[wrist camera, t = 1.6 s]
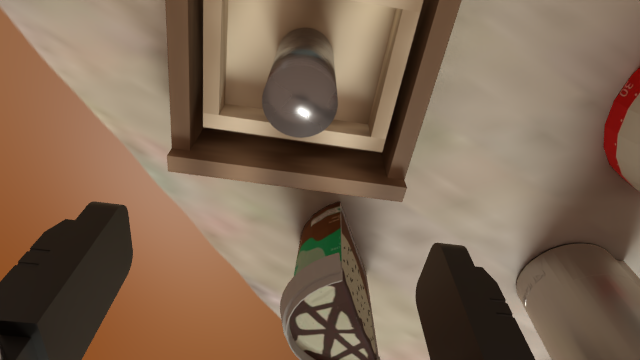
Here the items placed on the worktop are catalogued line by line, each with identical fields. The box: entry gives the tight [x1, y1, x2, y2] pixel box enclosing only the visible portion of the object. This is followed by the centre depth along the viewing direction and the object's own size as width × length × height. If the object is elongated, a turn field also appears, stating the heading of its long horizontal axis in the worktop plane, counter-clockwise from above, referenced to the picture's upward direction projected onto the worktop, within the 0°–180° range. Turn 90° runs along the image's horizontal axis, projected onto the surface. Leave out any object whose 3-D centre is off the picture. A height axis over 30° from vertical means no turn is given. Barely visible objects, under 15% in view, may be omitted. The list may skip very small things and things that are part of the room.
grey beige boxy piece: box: [203, 0, 423, 152], centre depth 23 cm, size 12×10×9 cm
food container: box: [280, 202, 380, 360], centre depth 34 cm, size 12×6×10 cm, turn 18°
